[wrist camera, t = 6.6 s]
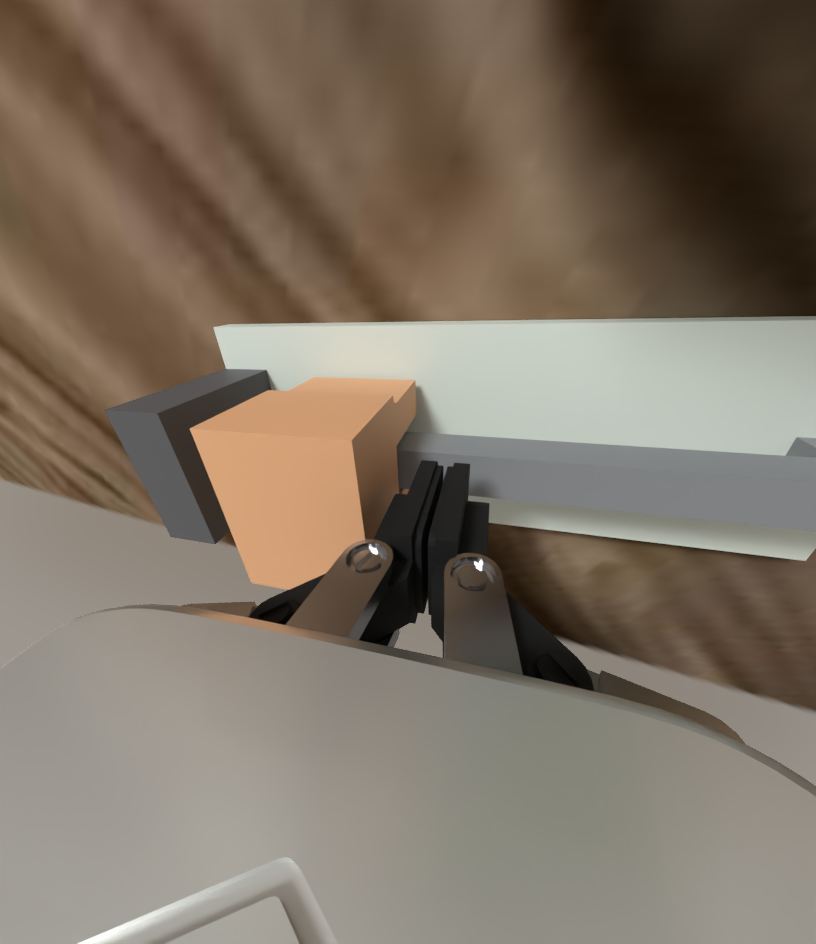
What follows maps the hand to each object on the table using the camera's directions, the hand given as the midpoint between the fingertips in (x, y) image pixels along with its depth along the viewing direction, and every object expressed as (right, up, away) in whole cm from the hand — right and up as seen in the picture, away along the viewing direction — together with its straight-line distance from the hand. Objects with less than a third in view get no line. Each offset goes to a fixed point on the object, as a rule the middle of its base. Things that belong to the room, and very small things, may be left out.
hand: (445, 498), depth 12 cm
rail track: (+3, +3, +5) cm, 7 cm away
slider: (-3, +3, +5) cm, 7 cm away
